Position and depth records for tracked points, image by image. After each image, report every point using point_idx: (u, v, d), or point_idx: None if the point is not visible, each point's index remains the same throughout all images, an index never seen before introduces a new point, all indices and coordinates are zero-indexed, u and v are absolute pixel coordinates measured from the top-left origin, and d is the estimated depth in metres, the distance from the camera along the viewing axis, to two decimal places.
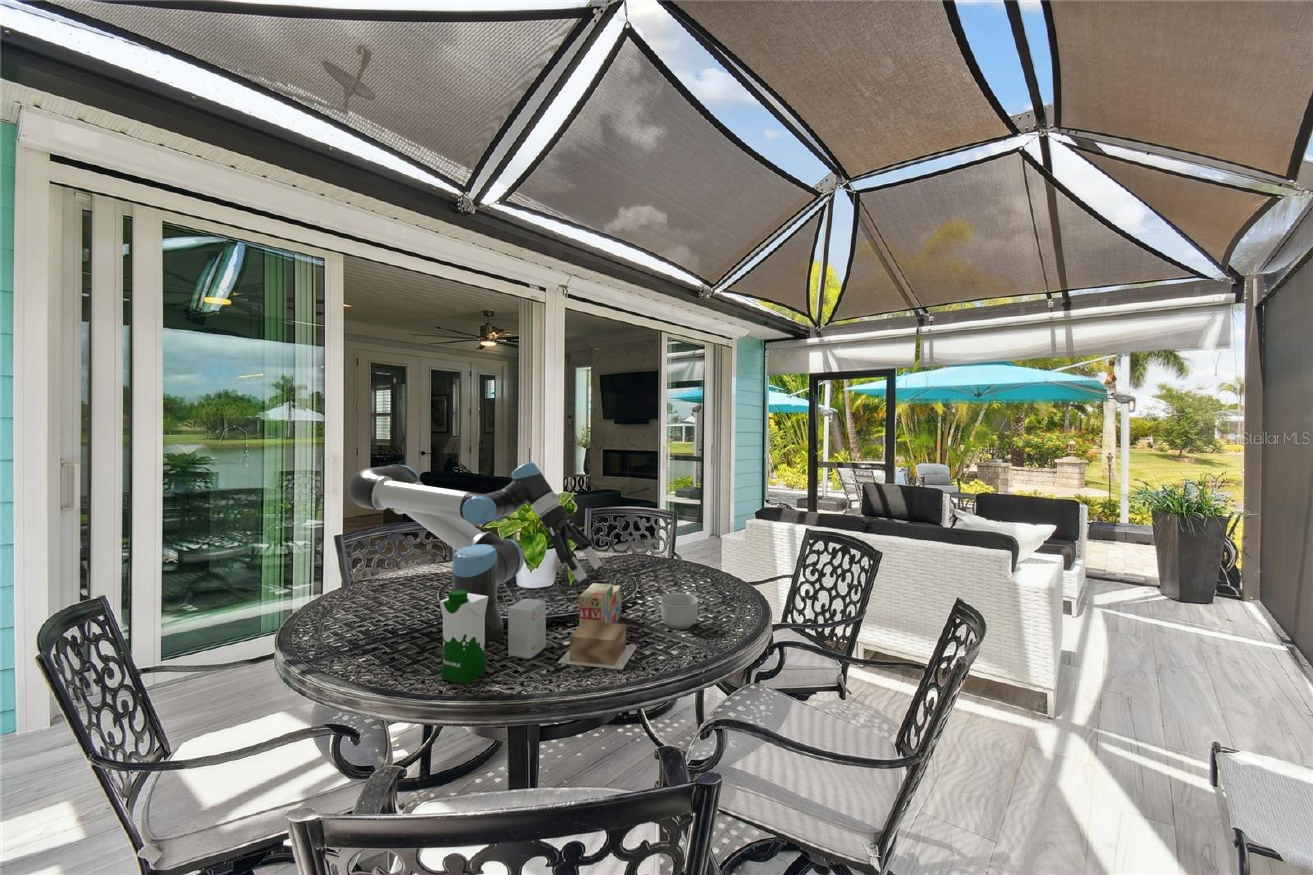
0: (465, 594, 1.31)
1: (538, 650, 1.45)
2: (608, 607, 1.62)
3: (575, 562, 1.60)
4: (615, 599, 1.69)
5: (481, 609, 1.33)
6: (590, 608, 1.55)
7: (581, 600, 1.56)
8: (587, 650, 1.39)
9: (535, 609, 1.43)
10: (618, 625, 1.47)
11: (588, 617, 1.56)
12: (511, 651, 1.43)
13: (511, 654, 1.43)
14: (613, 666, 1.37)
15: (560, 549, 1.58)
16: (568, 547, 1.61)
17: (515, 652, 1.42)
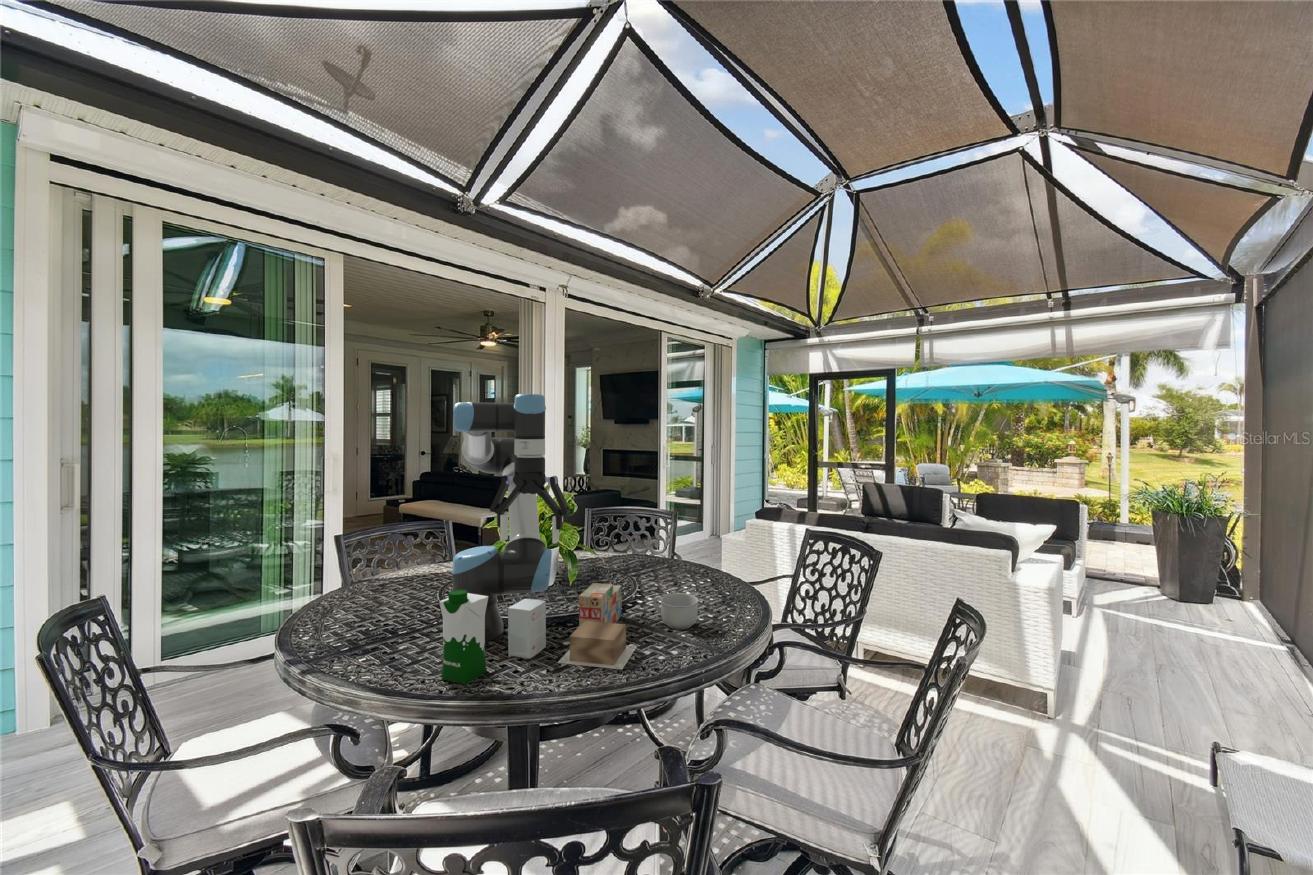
0: (465, 594, 1.31)
1: (538, 650, 1.45)
2: (608, 607, 1.62)
3: None
4: (615, 599, 1.70)
5: (481, 609, 1.33)
6: (590, 608, 1.56)
7: (581, 600, 1.56)
8: (587, 650, 1.39)
9: (535, 609, 1.43)
10: (618, 625, 1.47)
11: (588, 616, 1.56)
12: (511, 651, 1.43)
13: (511, 654, 1.43)
14: (613, 666, 1.37)
15: None
16: (505, 503, 1.45)
17: (515, 652, 1.42)
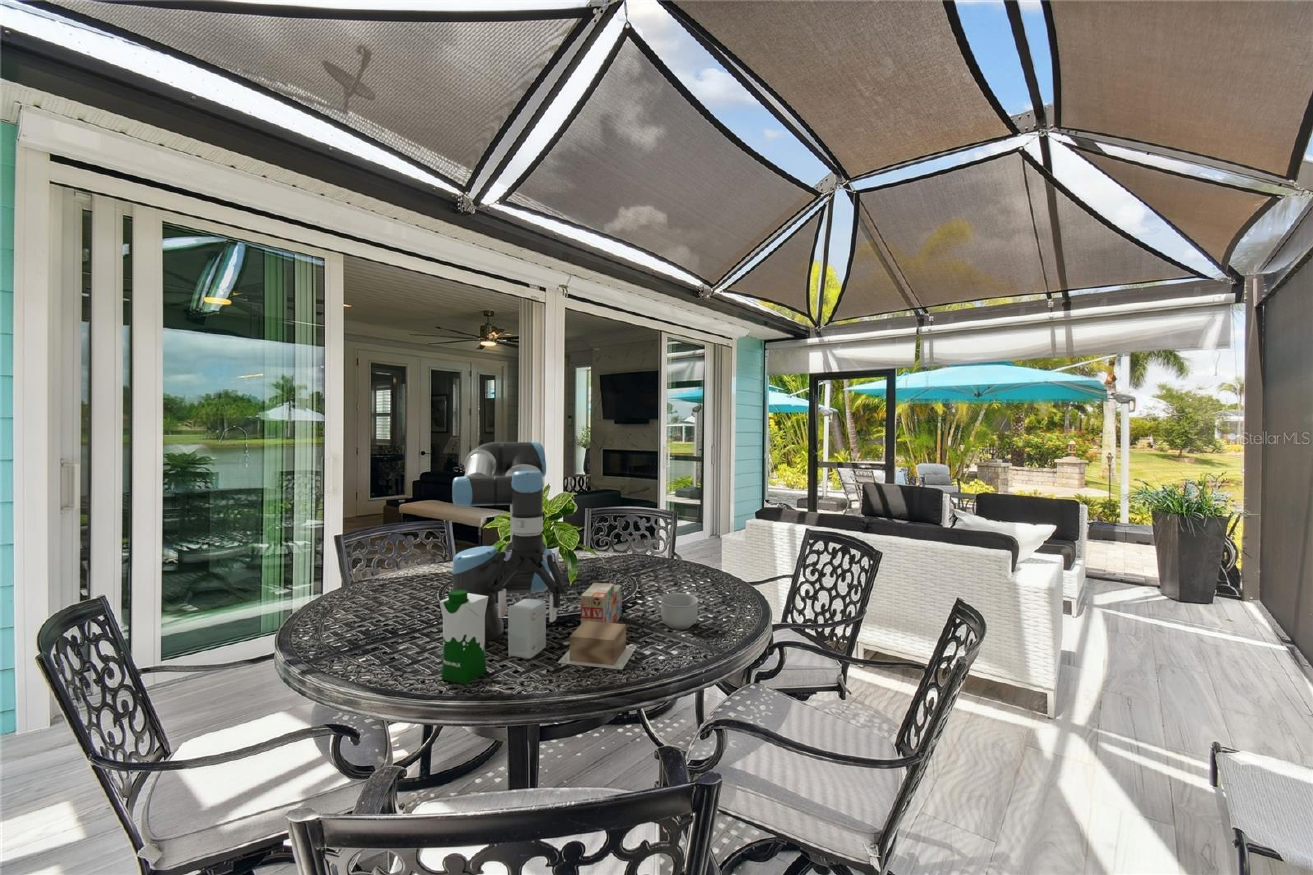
0: (465, 594, 1.31)
1: (538, 650, 1.45)
2: (610, 606, 1.63)
3: None
4: (616, 598, 1.70)
5: (481, 609, 1.33)
6: (592, 607, 1.56)
7: (583, 600, 1.56)
8: (587, 650, 1.39)
9: (535, 609, 1.43)
10: (618, 625, 1.47)
11: (589, 616, 1.56)
12: (511, 651, 1.43)
13: (511, 654, 1.43)
14: (613, 666, 1.37)
15: None
16: (503, 580, 1.45)
17: (515, 652, 1.42)
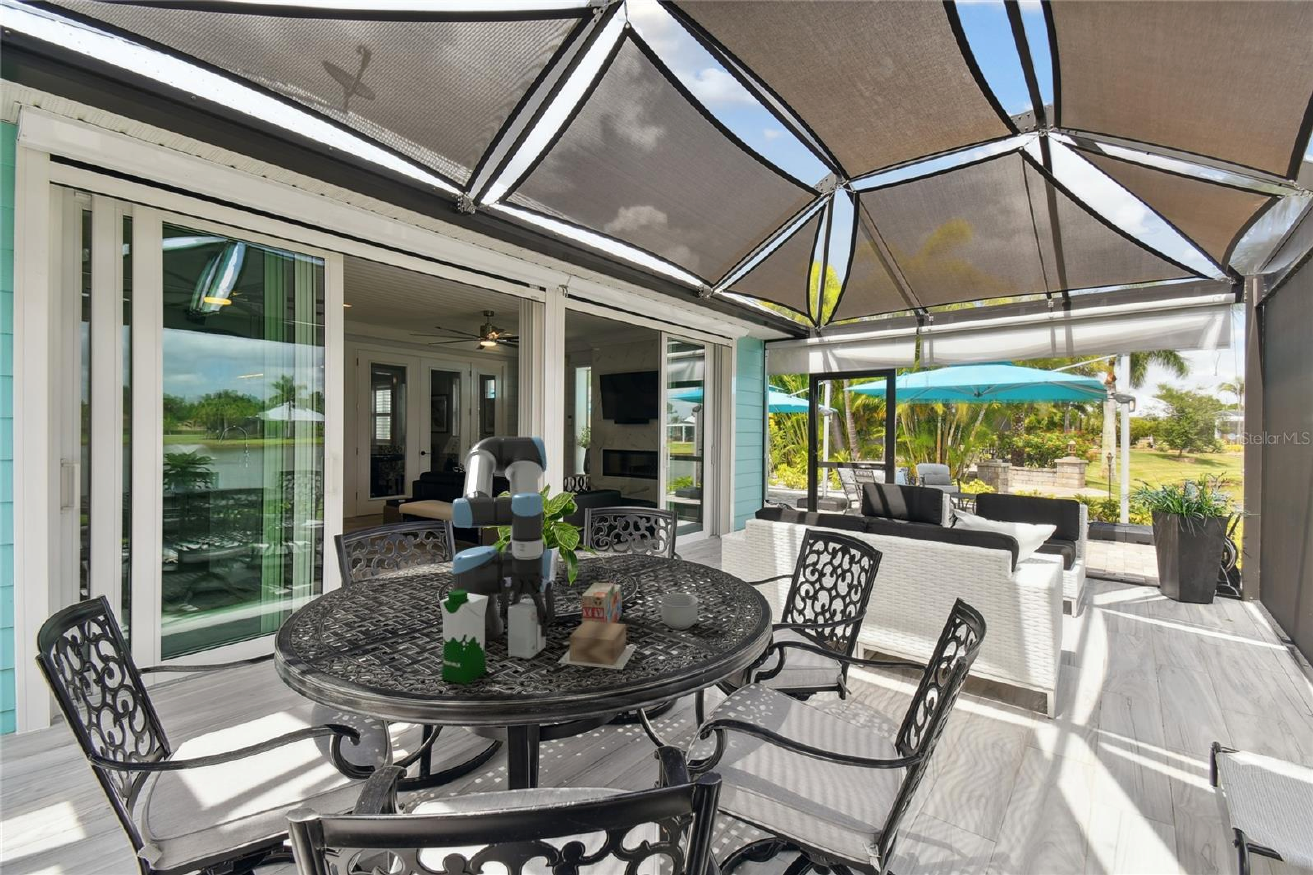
0: (465, 594, 1.31)
1: None
2: (610, 606, 1.63)
3: None
4: (616, 598, 1.70)
5: (481, 609, 1.33)
6: (593, 607, 1.56)
7: (584, 599, 1.56)
8: (587, 650, 1.39)
9: (535, 609, 1.43)
10: (618, 625, 1.47)
11: (591, 616, 1.56)
12: (511, 651, 1.43)
13: (511, 654, 1.43)
14: (613, 666, 1.37)
15: None
16: None
17: (514, 652, 1.42)
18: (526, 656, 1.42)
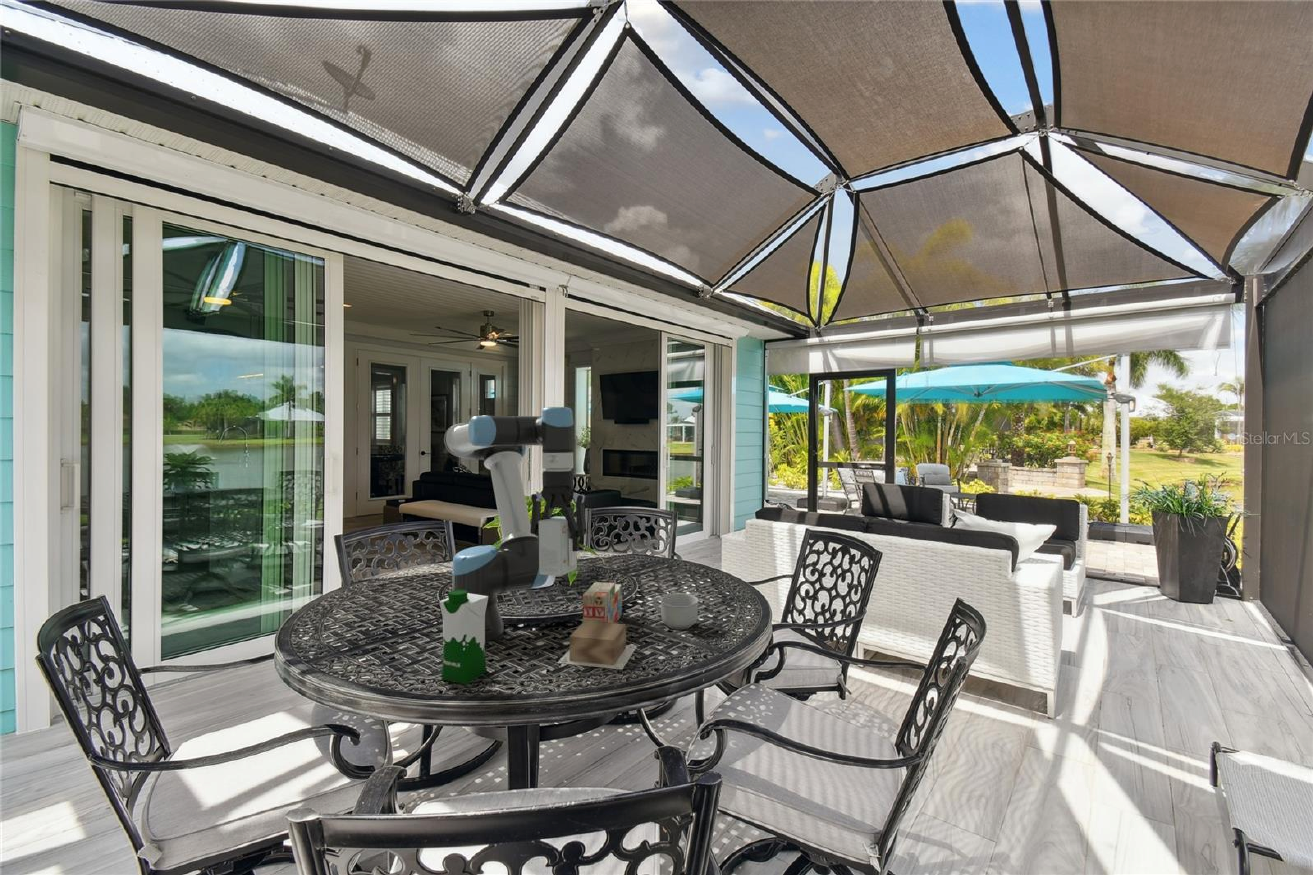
0: (465, 594, 1.31)
1: (569, 566, 1.42)
2: (611, 605, 1.63)
3: None
4: (617, 598, 1.71)
5: (481, 609, 1.33)
6: (594, 607, 1.56)
7: (585, 599, 1.57)
8: (587, 650, 1.39)
9: (566, 522, 1.41)
10: (618, 625, 1.47)
11: (591, 615, 1.57)
12: (542, 565, 1.41)
13: (542, 568, 1.41)
14: (613, 666, 1.37)
15: None
16: None
17: (546, 566, 1.40)
18: (557, 569, 1.39)
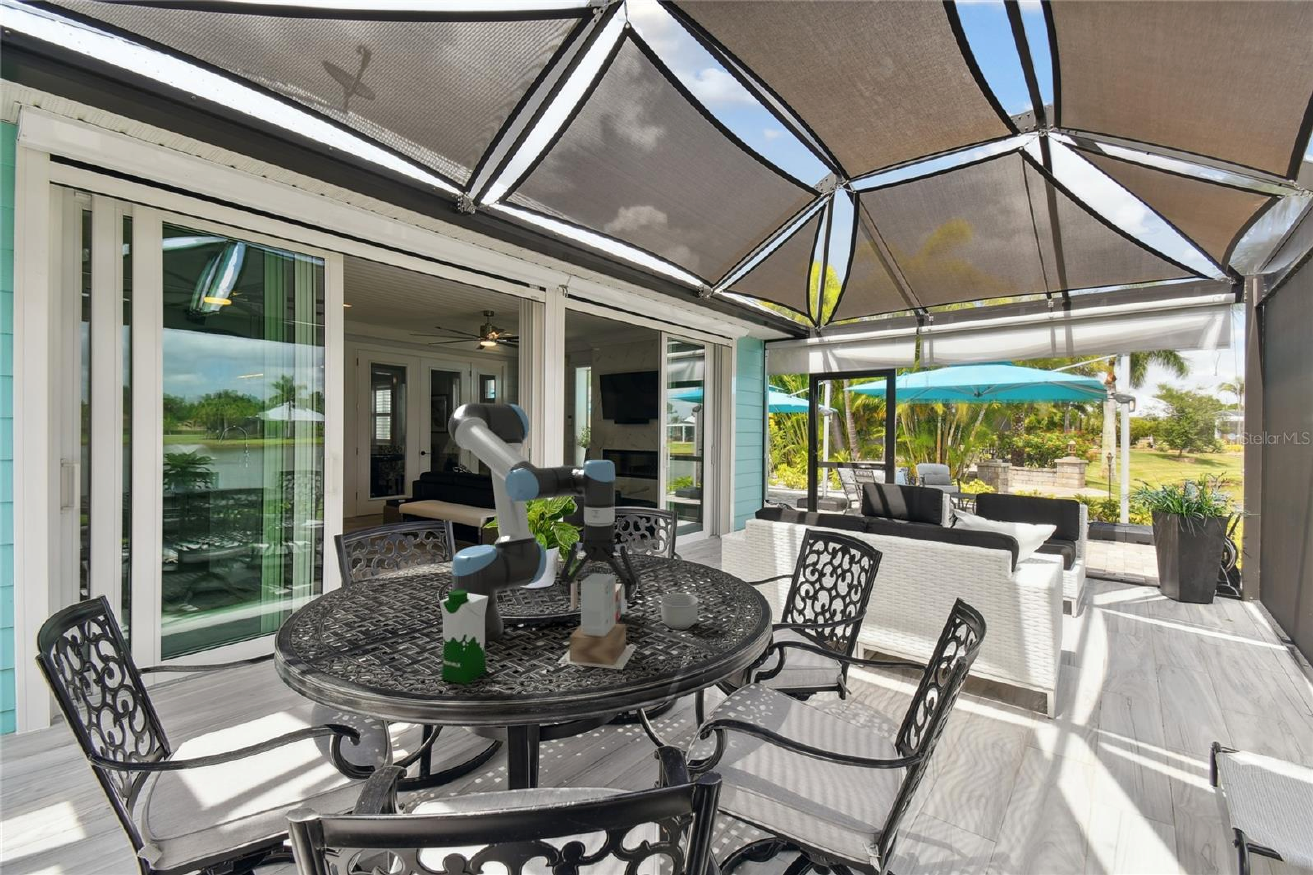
0: (465, 594, 1.31)
1: (610, 625, 1.43)
2: None
3: (571, 589, 1.44)
4: (617, 597, 1.71)
5: (481, 609, 1.33)
6: None
7: None
8: (587, 650, 1.39)
9: (608, 582, 1.41)
10: (618, 625, 1.47)
11: None
12: (584, 625, 1.41)
13: (584, 628, 1.41)
14: (613, 666, 1.37)
15: None
16: (575, 571, 1.44)
17: (588, 626, 1.40)
18: (600, 630, 1.39)
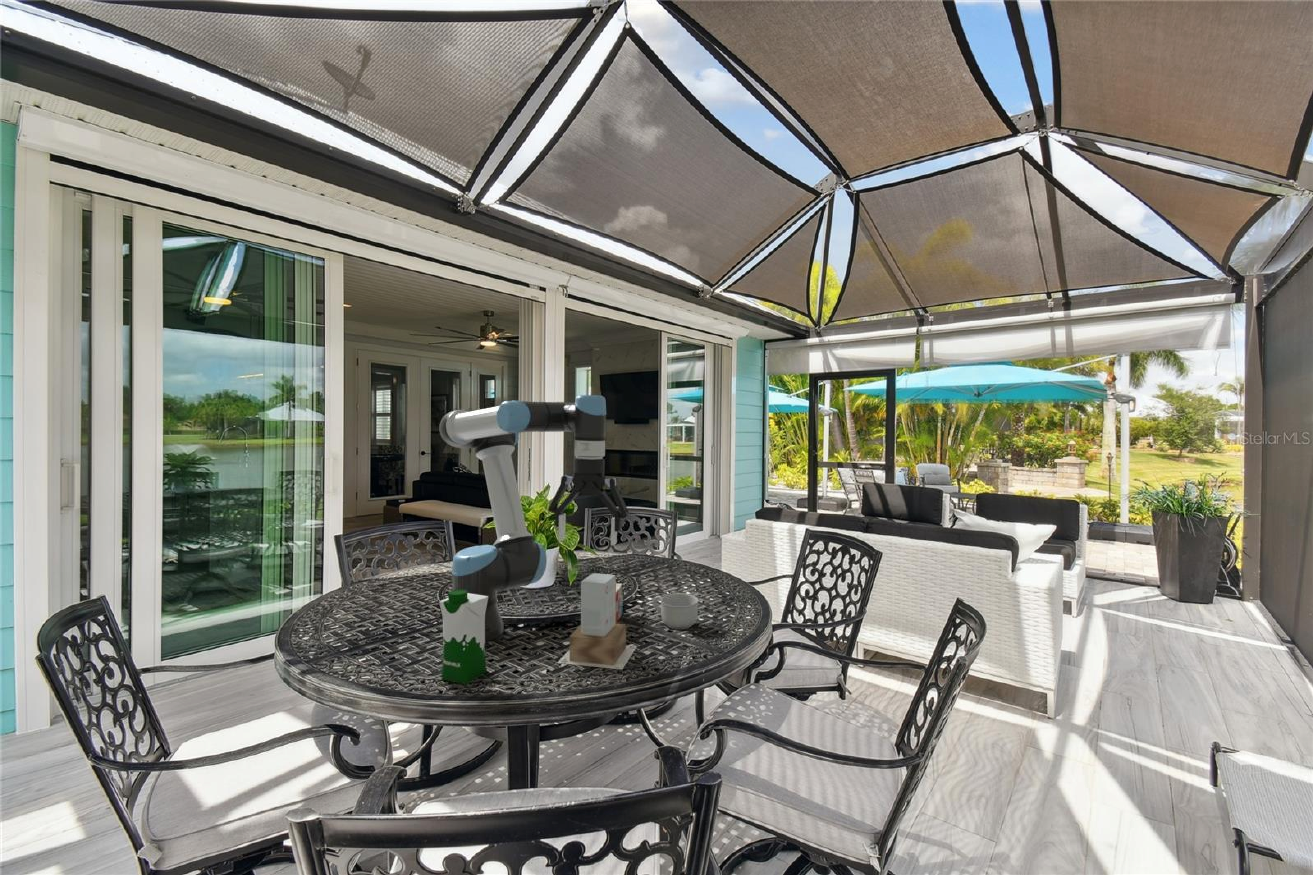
0: (465, 594, 1.31)
1: (610, 625, 1.43)
2: None
3: (559, 521, 1.46)
4: (617, 597, 1.72)
5: (481, 609, 1.33)
6: None
7: None
8: (587, 650, 1.39)
9: (608, 582, 1.41)
10: (618, 625, 1.47)
11: None
12: (584, 625, 1.41)
13: (584, 628, 1.41)
14: (613, 666, 1.37)
15: None
16: (564, 503, 1.45)
17: (588, 626, 1.40)
18: (600, 630, 1.39)
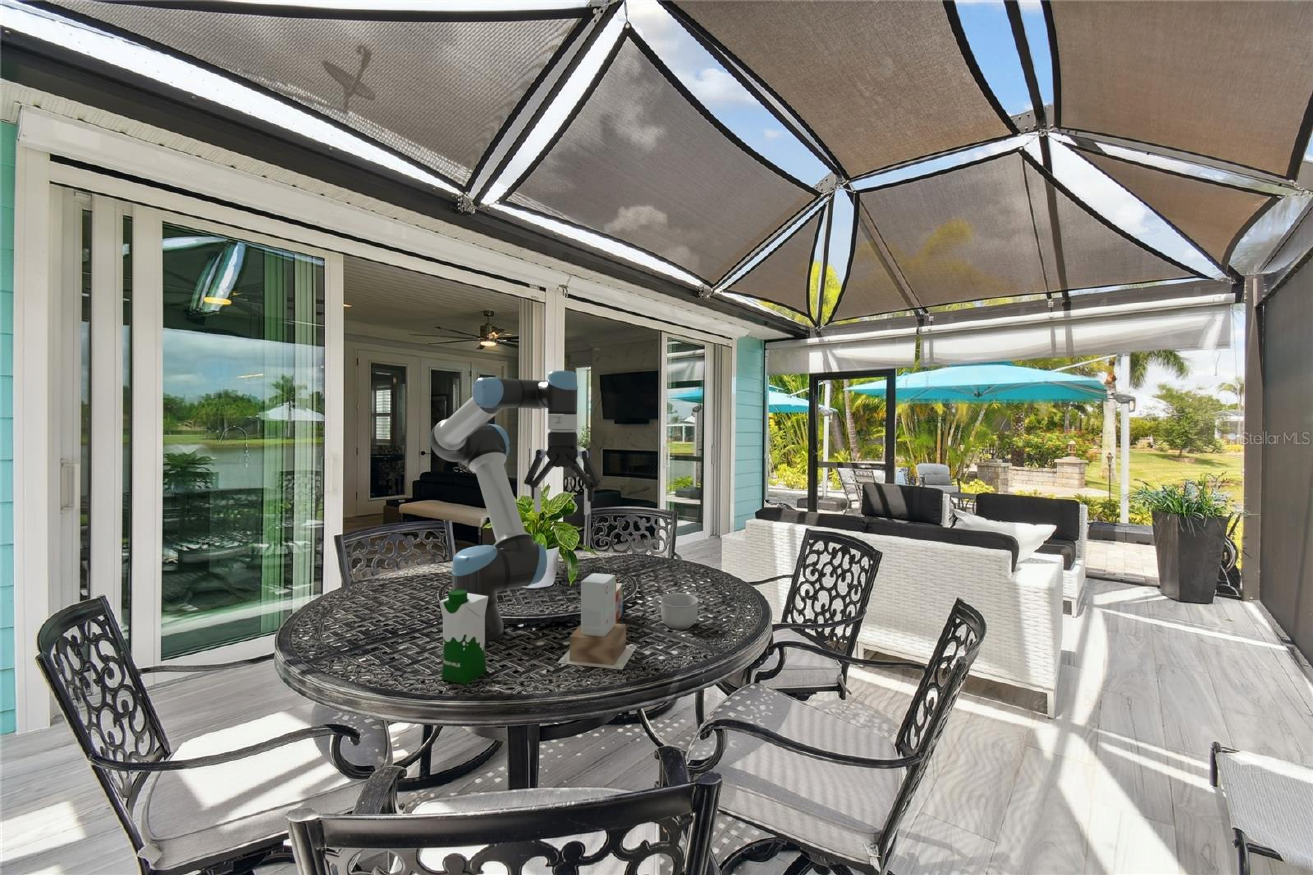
0: (465, 594, 1.31)
1: (610, 625, 1.43)
2: None
3: None
4: (618, 596, 1.72)
5: (481, 609, 1.33)
6: None
7: None
8: (587, 650, 1.39)
9: (608, 582, 1.41)
10: (618, 625, 1.47)
11: None
12: (584, 625, 1.41)
13: (584, 628, 1.41)
14: (613, 666, 1.37)
15: None
16: (538, 476, 1.51)
17: (588, 626, 1.40)
18: (600, 630, 1.39)
